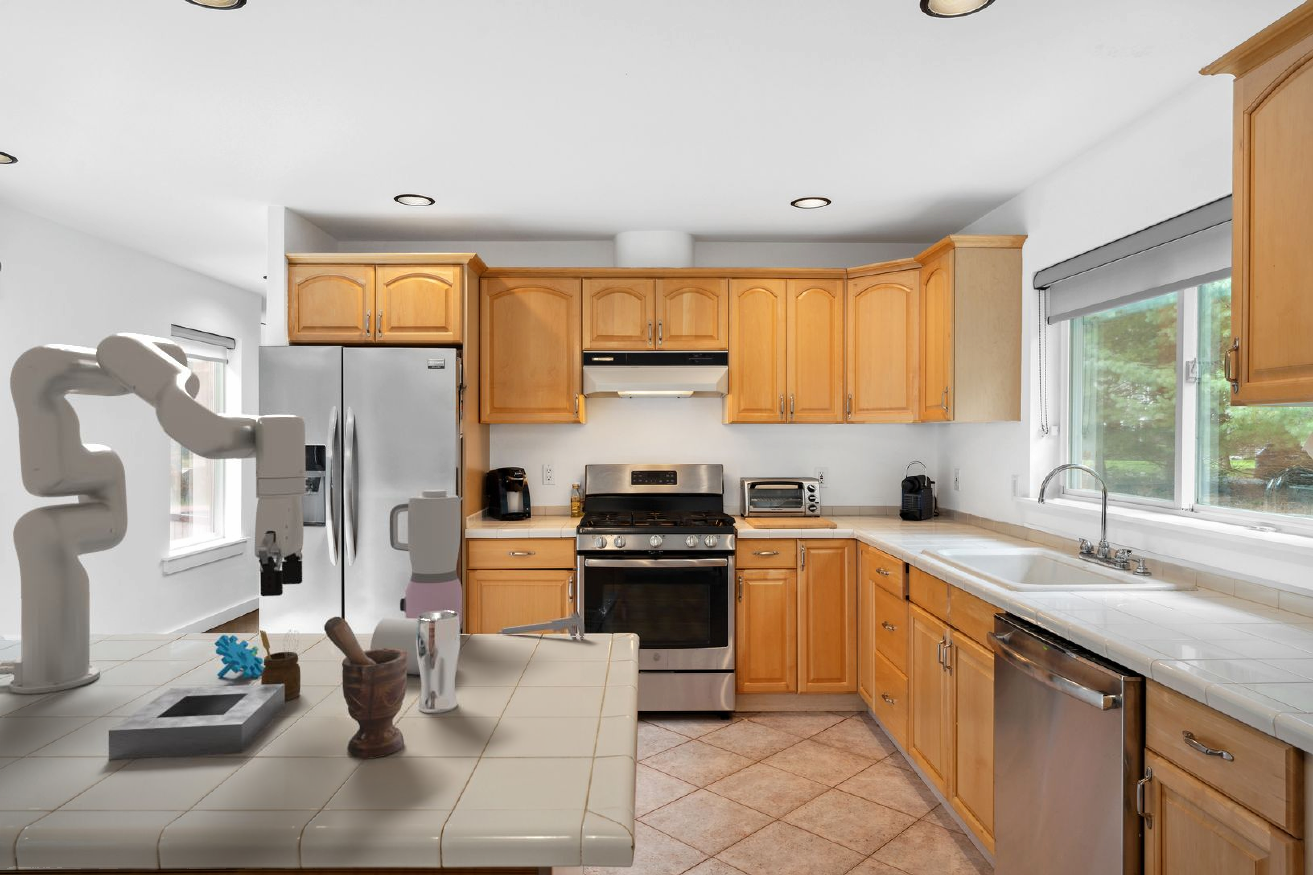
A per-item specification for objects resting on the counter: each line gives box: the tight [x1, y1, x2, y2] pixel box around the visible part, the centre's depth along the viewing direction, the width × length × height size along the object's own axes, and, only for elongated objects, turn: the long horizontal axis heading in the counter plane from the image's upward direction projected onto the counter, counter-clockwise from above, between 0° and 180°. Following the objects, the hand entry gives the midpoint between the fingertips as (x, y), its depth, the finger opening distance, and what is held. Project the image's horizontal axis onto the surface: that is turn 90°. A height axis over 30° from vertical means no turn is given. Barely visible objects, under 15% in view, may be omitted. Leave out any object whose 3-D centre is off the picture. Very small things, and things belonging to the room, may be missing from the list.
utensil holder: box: [259, 629, 301, 702], centre depth 126 cm, size 6×6×12 cm
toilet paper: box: [369, 617, 420, 676], centre depth 140 cm, size 10×10×10 cm
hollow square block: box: [108, 684, 286, 761], centre depth 111 cm, size 17×17×4 cm
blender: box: [389, 489, 464, 630], centre depth 166 cm, size 16×12×32 cm
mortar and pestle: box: [323, 616, 408, 759], centre depth 104 cm, size 12×9×20 cm
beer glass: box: [416, 611, 461, 714], centre depth 122 cm, size 7×7×15 cm
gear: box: [214, 634, 265, 679], centre depth 137 cm, size 11×6×10 cm
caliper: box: [496, 611, 585, 641], centre depth 165 cm, size 20×1×6 cm, turn 76°
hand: (282, 589), depth 126 cm, fingers open, 9 cm apart
